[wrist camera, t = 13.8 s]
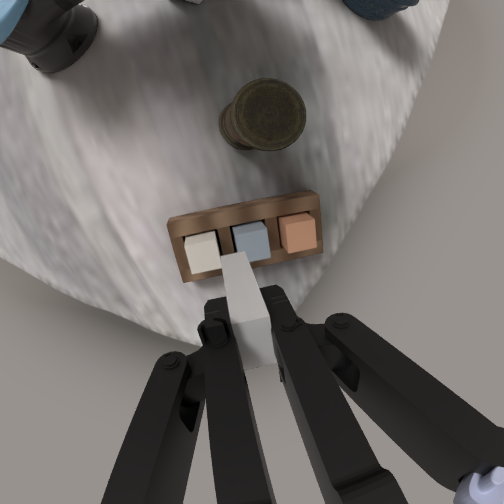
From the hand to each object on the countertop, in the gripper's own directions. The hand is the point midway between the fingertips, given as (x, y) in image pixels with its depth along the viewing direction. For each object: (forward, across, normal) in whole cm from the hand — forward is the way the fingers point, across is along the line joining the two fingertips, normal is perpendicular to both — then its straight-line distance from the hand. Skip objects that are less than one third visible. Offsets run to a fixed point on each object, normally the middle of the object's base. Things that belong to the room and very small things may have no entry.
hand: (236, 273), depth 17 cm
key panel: (+32, +4, -9) cm, 34 cm away
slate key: (+31, +4, -9) cm, 32 cm away
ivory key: (+31, -4, -9) cm, 32 cm away
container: (+33, +7, +10) cm, 35 cm away
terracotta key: (+31, +12, -9) cm, 34 cm away
